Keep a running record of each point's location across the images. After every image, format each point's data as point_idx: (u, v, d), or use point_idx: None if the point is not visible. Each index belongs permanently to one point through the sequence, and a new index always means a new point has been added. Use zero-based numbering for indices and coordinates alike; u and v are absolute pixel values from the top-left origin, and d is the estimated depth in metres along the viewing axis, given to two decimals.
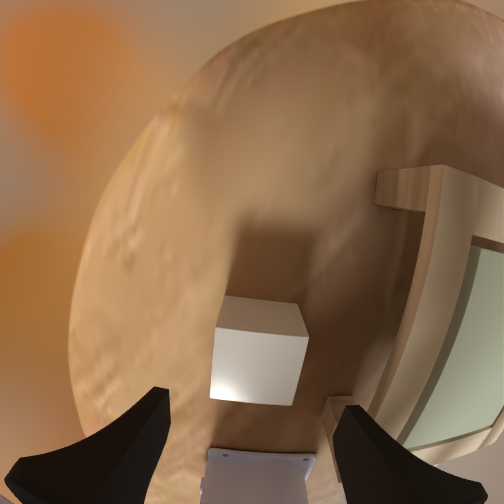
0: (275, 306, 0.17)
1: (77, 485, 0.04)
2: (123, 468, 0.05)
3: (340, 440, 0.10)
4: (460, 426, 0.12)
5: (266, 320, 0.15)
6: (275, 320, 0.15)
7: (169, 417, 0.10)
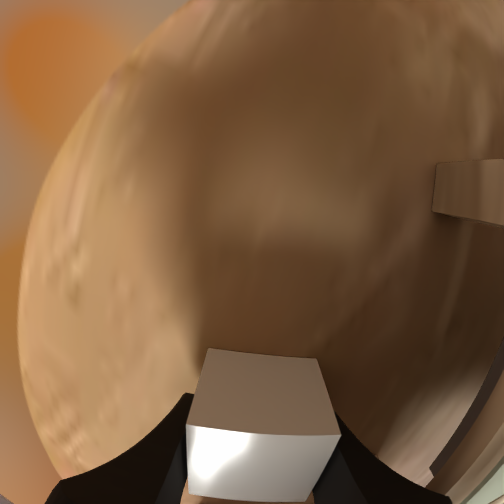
0: (284, 368, 0.11)
1: None
2: (168, 480, 0.05)
3: None
4: None
5: (272, 402, 0.08)
6: (285, 402, 0.09)
7: None
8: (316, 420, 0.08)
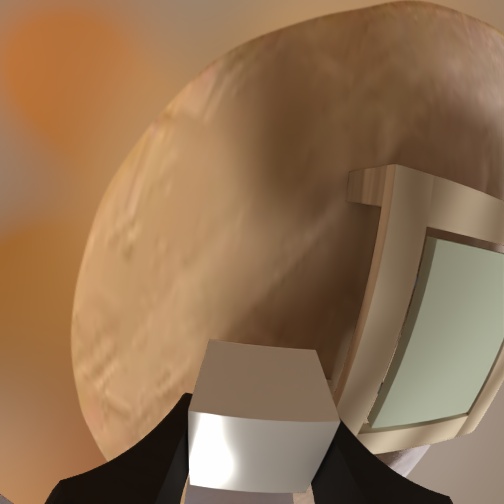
0: (284, 358, 0.11)
1: None
2: (168, 480, 0.05)
3: None
4: (432, 410, 0.14)
5: (272, 390, 0.09)
6: (285, 389, 0.09)
7: None
8: (315, 407, 0.08)
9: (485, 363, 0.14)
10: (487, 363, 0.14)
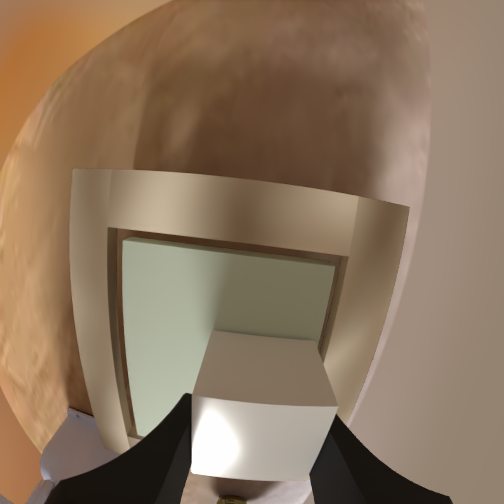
0: (284, 348, 0.11)
1: None
2: (168, 480, 0.05)
3: None
4: None
5: (272, 377, 0.09)
6: (285, 376, 0.09)
7: None
8: (314, 393, 0.08)
9: None
10: None
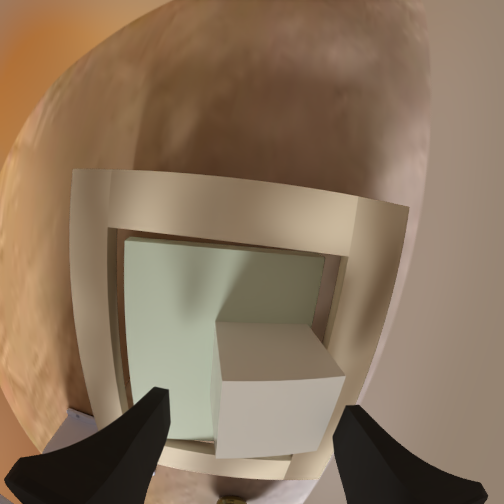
0: (284, 332, 0.13)
1: (77, 485, 0.04)
2: (123, 468, 0.05)
3: (340, 440, 0.10)
4: (212, 430, 0.15)
5: (284, 357, 0.11)
6: (294, 356, 0.11)
7: (169, 417, 0.10)
8: (323, 367, 0.10)
9: None
10: None
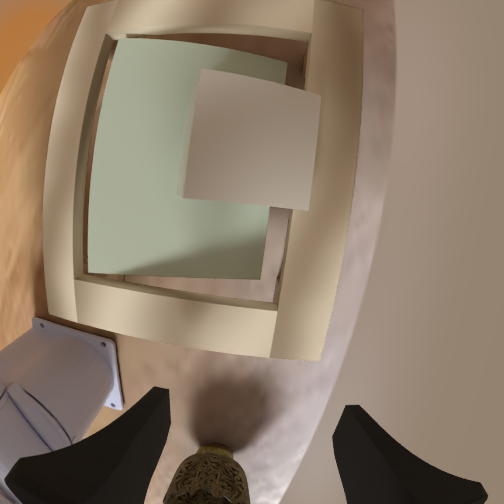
0: None
1: (77, 485, 0.04)
2: (123, 468, 0.05)
3: (340, 440, 0.10)
4: (176, 257, 0.14)
5: None
6: None
7: (169, 417, 0.10)
8: None
9: None
10: None
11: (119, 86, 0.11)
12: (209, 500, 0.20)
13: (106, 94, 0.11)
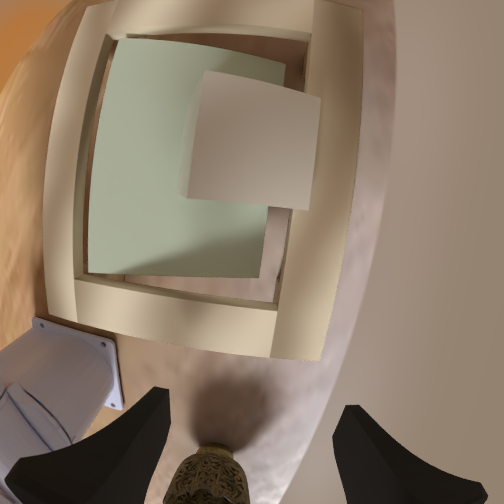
0: None
1: (77, 485, 0.04)
2: (123, 468, 0.05)
3: (340, 440, 0.10)
4: (176, 256, 0.14)
5: None
6: None
7: (169, 417, 0.10)
8: None
9: None
10: None
11: (119, 86, 0.11)
12: (209, 500, 0.20)
13: (106, 94, 0.11)
